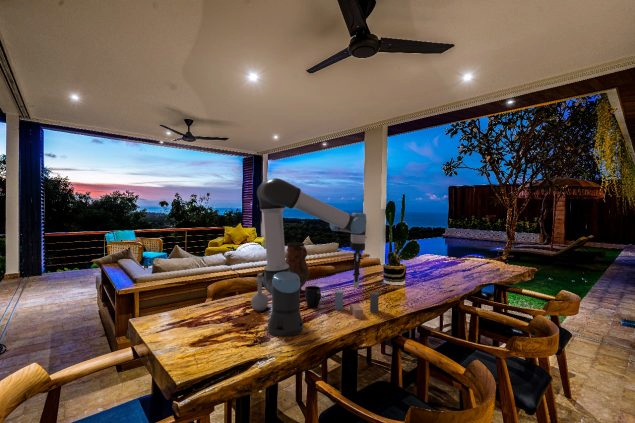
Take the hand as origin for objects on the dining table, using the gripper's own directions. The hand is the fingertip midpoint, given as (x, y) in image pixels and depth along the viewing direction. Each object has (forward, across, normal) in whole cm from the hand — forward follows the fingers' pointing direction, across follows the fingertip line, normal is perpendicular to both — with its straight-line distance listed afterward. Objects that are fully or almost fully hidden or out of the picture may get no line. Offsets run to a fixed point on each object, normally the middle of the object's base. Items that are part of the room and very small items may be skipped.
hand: (356, 287), depth 155 cm
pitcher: (+12, +21, +36) cm, 43 cm away
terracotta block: (+9, -5, +1) cm, 10 cm away
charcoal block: (+11, -2, -10) cm, 15 cm away
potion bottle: (+12, -10, +48) cm, 51 cm away
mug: (+12, -2, +21) cm, 24 cm away
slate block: (+11, -2, +8) cm, 14 cm away
